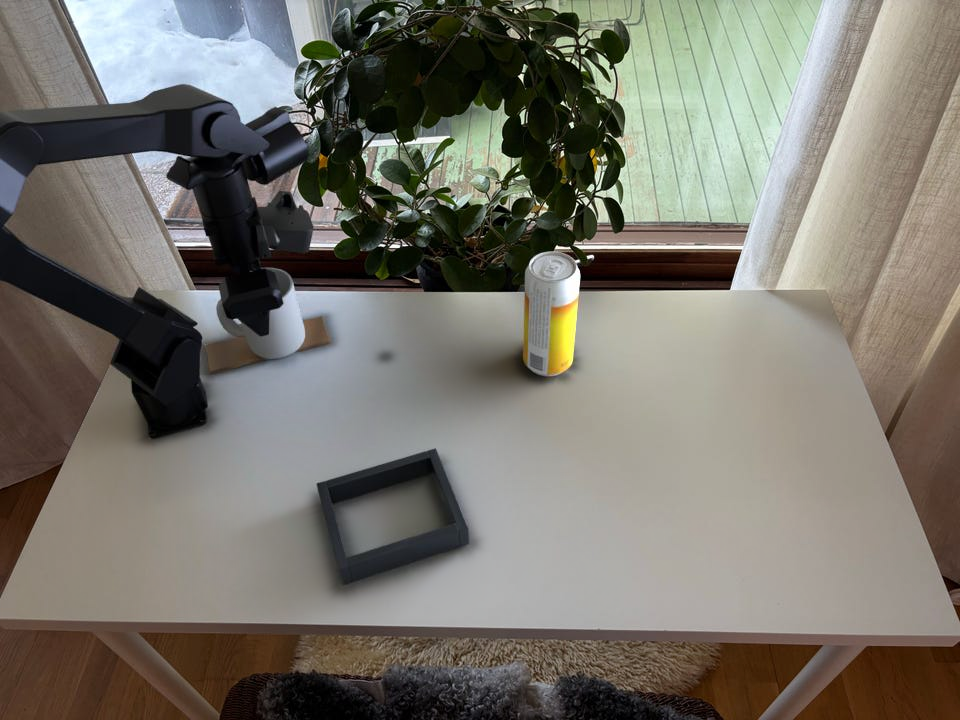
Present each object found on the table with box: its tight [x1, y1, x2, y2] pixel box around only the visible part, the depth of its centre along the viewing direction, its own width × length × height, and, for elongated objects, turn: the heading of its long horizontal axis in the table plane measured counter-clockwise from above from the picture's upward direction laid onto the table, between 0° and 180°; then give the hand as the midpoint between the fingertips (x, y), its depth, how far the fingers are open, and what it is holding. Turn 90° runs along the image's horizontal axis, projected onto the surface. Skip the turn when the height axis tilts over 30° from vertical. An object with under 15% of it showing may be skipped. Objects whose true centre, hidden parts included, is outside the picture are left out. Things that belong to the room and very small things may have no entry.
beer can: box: [522, 251, 581, 377], centre depth 92 cm, size 6×6×15 cm
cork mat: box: [205, 315, 331, 375], centre depth 100 cm, size 15×5×1 cm, turn 110°
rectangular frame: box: [316, 448, 470, 586], centre depth 80 cm, size 13×11×3 cm
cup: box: [215, 267, 305, 360], centre depth 97 cm, size 7×10×9 cm
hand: (258, 310), depth 96 cm, fingers open, 9 cm apart
